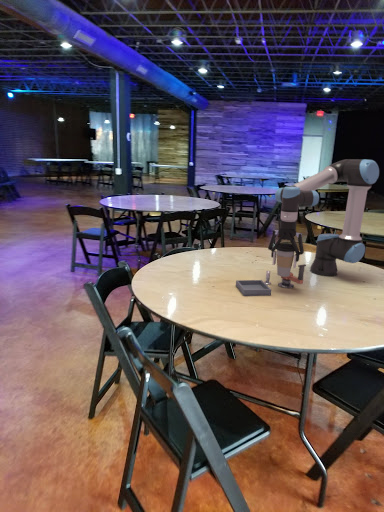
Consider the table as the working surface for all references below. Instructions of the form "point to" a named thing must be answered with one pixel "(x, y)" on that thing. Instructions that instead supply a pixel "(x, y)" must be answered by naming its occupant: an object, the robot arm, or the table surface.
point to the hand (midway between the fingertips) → (284, 265)
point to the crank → (300, 275)
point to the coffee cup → (284, 259)
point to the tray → (253, 288)
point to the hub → (285, 284)
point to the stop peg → (267, 278)
